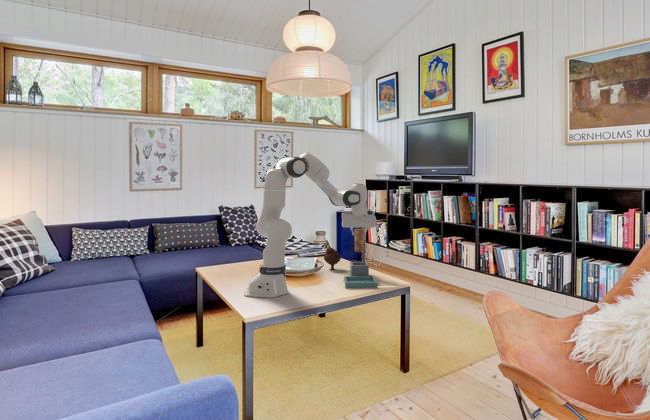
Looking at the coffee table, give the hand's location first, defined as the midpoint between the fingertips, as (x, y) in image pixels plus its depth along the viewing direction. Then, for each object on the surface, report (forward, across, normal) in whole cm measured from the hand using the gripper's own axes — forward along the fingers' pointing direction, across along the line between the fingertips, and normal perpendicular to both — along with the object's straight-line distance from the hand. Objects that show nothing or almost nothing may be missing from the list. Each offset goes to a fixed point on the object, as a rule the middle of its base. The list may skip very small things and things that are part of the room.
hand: (359, 235), depth 230 cm
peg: (+10, 0, 0) cm, 10 cm away
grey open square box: (+26, 0, 0) cm, 26 cm away
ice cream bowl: (+26, -15, +17) cm, 34 cm away
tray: (+26, -1, -14) cm, 29 cm away
